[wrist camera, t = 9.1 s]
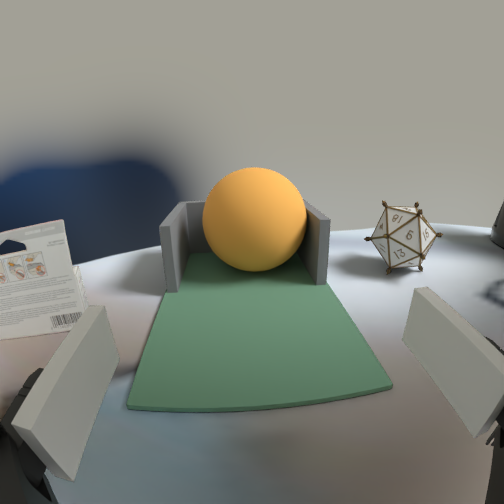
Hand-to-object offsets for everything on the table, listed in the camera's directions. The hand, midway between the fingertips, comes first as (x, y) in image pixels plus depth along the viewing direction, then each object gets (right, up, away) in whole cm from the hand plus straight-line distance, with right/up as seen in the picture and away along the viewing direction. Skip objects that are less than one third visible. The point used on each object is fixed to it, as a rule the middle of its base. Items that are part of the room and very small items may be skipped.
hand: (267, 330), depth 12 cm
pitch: (-1, -1, +16) cm, 16 cm away
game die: (+17, +1, +22) cm, 28 cm away
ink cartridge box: (-20, -4, +10) cm, 23 cm away
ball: (0, +7, +20) cm, 21 cm away
